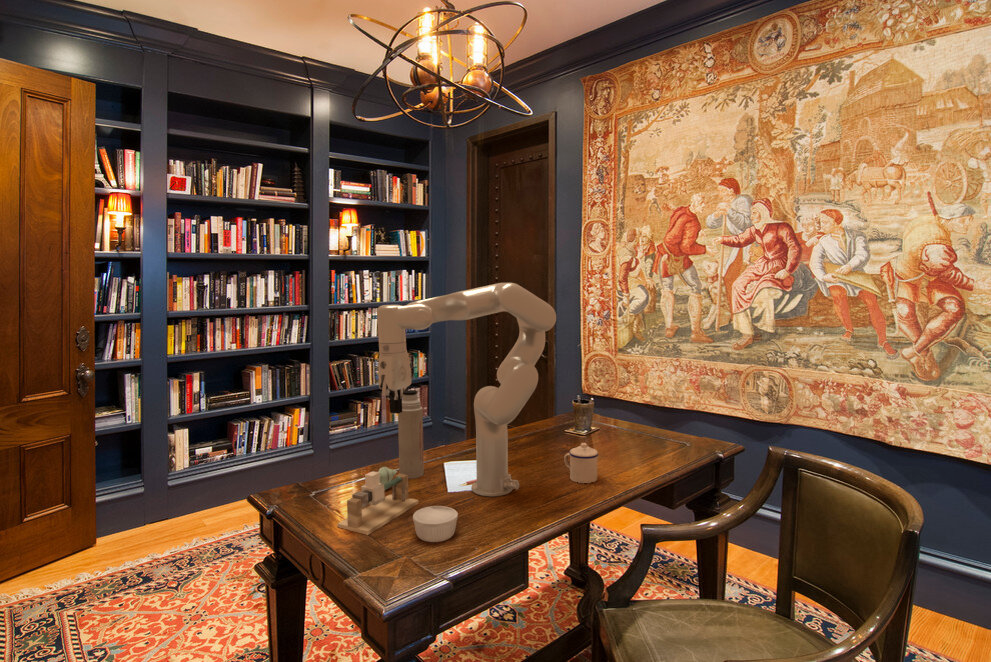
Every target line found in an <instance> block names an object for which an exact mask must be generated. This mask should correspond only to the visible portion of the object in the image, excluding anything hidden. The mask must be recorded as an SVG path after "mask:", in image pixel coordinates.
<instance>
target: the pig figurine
mask: <svg viewBox="0 0 991 662" xmlns="http://www.w3.org/2000/svg"><path fill="white" fill-rule="evenodd" d="M398 471H399V470H395V469H393V468H392V469H391V468H389V467H387V466H382V467H380V468H379V470H378V471H377V472H379V473H380V483H381V484H385V483H387V482H389V481H391V480H393V478H395V476H396V475H397V473H399V472H398Z"/></svg>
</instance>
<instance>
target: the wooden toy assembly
mask: <svg viewBox="0 0 991 662" xmlns="http://www.w3.org/2000/svg"><path fill="white" fill-rule="evenodd" d="M390 488H391V493H392V494H391V493H390V494H388V495H387V496H385V500H384V501H382V502H380V503H379V504H377V505H370V504H368V503H369V502H370V501H371V500H372V492H369V491H368V490H365V491H363V492H361V491H356V492H354V493H353V494H351V498H348V499H347V500H346V507H347V508H346V509H347V517H346V518H344V519H343V520H342V521H339V522H338V523H337V525H336V527H337V528H338V527H339V529H342V528H343V530H346V529H347V530H346V531H351V532H353V533H354V532H355V533H358V534H361V535H362V534H363V535H366V536H368V535H370V534H372V533H373V532H375V531H377V530H378V529H380V528H381V527H383V526H384V525H386V524H388V523H389V522H391V521H393V520H394V519H396V518H398V517H400V516H401V515H402V514H404V513H406V512H407V511H409V510H411V509H412V508H414V507H415V506H417V505H419V499H415V498H411V497H409V479H408V475H404V474H399V473H398V474H395V476H394V479H392V480H391V481H389V482H387V483H385V484H384V492H385V491H386V490H389V489H390Z"/></svg>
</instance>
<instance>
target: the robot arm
mask: <svg viewBox="0 0 991 662" xmlns="http://www.w3.org/2000/svg"><path fill="white" fill-rule="evenodd" d="M376 310H377V311H376V312H377V313H376V314H377V333H378V334H377V335H378V349H379V351H378V352H379V353H378V354H379V355H378V357H379V358H378V372H377V373H378V374H377V375H378V387H379V388H378V389H380V390H381V396H386V397H387V400H388V401H389V413H390V414H397V415H398V414H399V413H401V412H402V400H403V392H404V391H406V390H408V389H407V388H408V387H410V385H411V384H412V370H411V363H410V356H409V354H408V351H407V339H406V330H416V331H421V330H426V329H427V328H429V327H430V326H431V325H432V324H435V323H439V322H445V321H466V320H472V319H476V318H479V317H484V316H489V315H493V314H496V313H502V312H506V313H509V314H510V315H511V316H513V317H515V318H516V321H517V324H518V328H519V334H518V338H517V340H516V342H515V343H514V346H513V347H512V348H511V349H510V351H509V352H508V354H507V355H506V357H505V358H504V360H503V361H501V364H500V365H499V367H498V368H497V370H496V378H497V380H498V382H499V384H500V386H499V387H496V386H493V385H488V386H484V387H482V388H480V389H479V390H478V391H477V393H476V394H475V397H474V401H473V411H474V412H473V413H474V419H475V431H476V432H475V433H476V436H475V437H476V439H475V442H476V443H475V444H476V445H475V447H476V448H475V449H476V451H475V452H476V453H475V454H476V458H475V459H476V460H475V461H476V465H475V466H476V481H474V482H473V483H472V484H471V491H472V492H473V493H474V494H476V495H479V496H483V497H500V496H505V495H508V494H509V493H511V492H512V491H513V490H519V488H520V483H519V480H517V479H512V474H510V473H509V472H508V469H509V467H508V460H509V459H508V455H509V454H508V449H509V448H508V443H509V442H508V438H509V435H508V434H509V433H508V424H510V423H512V422H513V421H514V420H515V419H516V418H517V416H518V415H519V414H520V413H521V411H522V409H523V408H524V407H525V405H526V403H527V402H528V401H529V399H530V398H531V396H532V395H533V393H534V392H535V390H536V388H537V385H538V382H539V373H538V369H537V368H536V367H535V366H536V363H537V362H538V361H539V359H540V357H541V355H543V351H544V349H545V344H546V332H547V331H550V330H551V329H552V328H553V327H554V326H555V324H556V321H557V314H556V310H555V309H554V308H553V306H551V304H549V303H548V302H546V301H544V300H543V299H541V298H540V297H538V296H537V295H535V294H534V293H532V292H530V291H529V290H527V289H526V288H524V287H523V286H520V285H519V284H518V283H516V282H515V283H514V282H498V283H494V284H489V285H485V286H480V287H476V288H470V289H466V290H461V291H456V292H452V293H449V294H445V295H440V296H439V295H438V296H435V297H432V298H431V297H430V298H427V299H421V300H417V301H412V302H409V303H407V304H406V305H400V304H384V305H383V304H382V305H380V306H378V308H377V309H376Z"/></svg>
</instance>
